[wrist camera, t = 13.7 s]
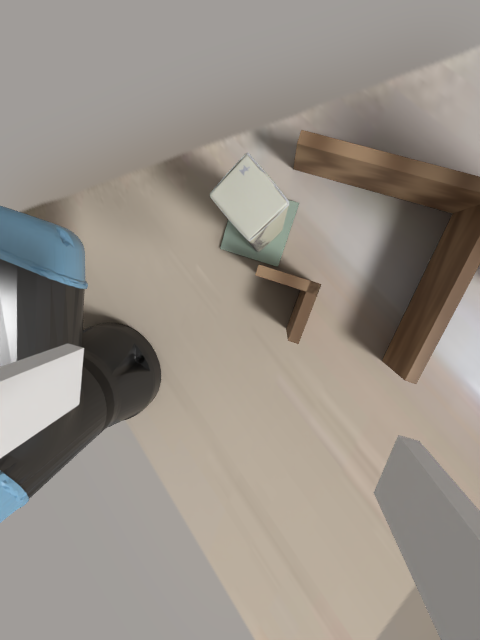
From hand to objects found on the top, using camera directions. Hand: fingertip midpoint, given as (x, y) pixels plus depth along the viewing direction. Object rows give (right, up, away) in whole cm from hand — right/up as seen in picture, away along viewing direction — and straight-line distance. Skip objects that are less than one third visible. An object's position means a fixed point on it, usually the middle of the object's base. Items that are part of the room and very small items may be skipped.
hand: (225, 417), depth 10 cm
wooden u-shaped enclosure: (+14, +11, +21) cm, 27 cm away
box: (+3, +16, +21) cm, 27 cm away
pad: (+3, +16, +21) cm, 27 cm away
